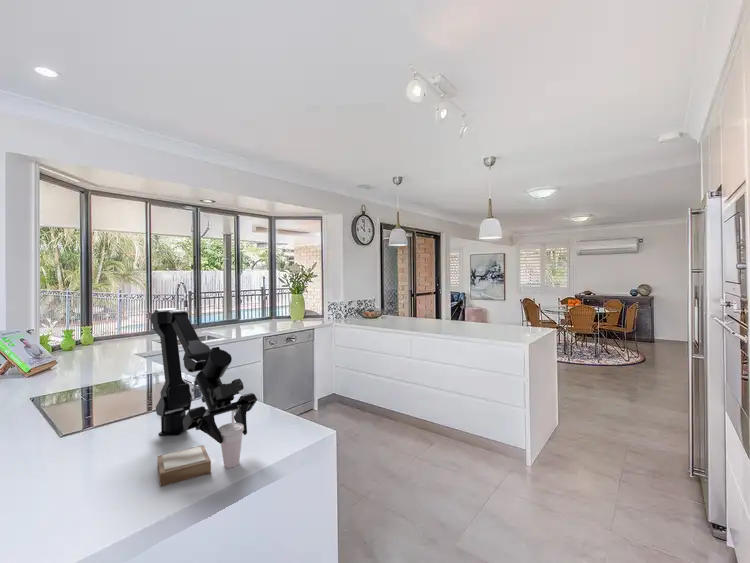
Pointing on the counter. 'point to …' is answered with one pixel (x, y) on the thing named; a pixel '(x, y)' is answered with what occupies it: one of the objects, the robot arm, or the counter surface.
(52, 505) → the counter surface
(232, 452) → the smoothie
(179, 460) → the plinth
